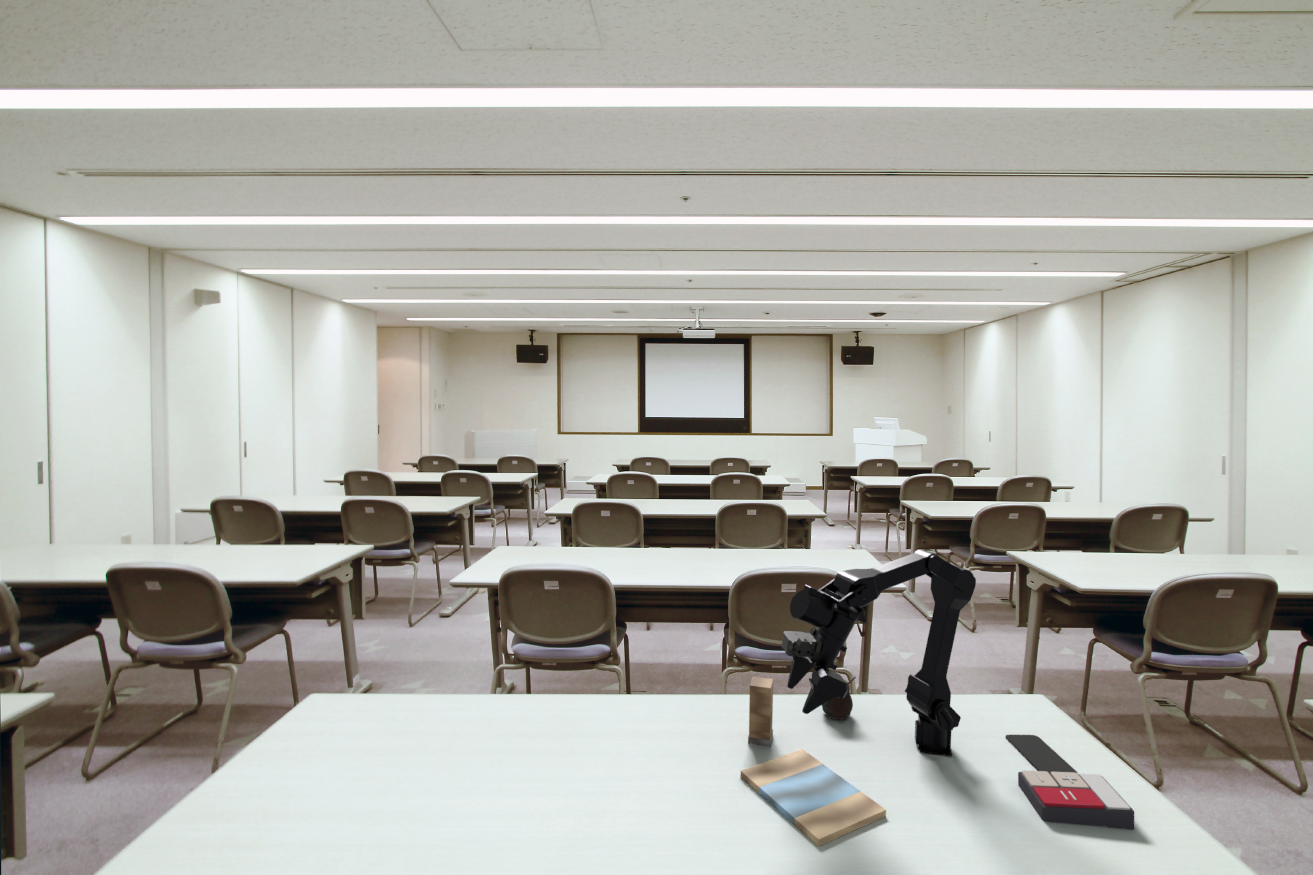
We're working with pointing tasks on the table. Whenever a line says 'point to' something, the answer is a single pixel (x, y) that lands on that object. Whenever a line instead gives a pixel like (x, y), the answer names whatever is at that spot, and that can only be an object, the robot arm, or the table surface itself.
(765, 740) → the wooden pillar on base
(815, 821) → the board
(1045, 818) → the calculator
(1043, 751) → the phone
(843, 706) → the mate gourd
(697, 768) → the table surface
